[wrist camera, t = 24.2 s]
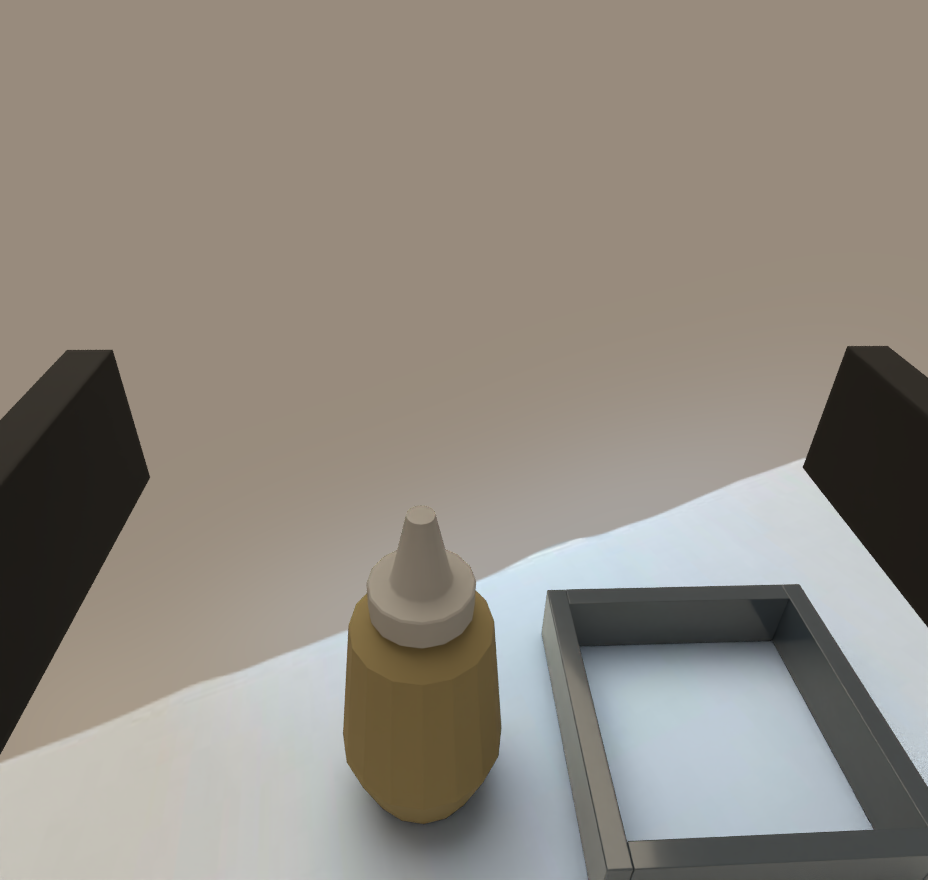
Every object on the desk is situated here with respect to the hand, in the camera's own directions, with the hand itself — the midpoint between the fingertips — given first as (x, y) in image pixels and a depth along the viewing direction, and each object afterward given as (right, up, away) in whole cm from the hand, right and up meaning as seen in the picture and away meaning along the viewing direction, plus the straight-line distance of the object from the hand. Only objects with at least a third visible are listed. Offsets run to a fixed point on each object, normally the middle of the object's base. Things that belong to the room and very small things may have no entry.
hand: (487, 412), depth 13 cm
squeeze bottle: (-3, -19, +24) cm, 31 cm away
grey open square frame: (+13, -18, +26) cm, 34 cm away
